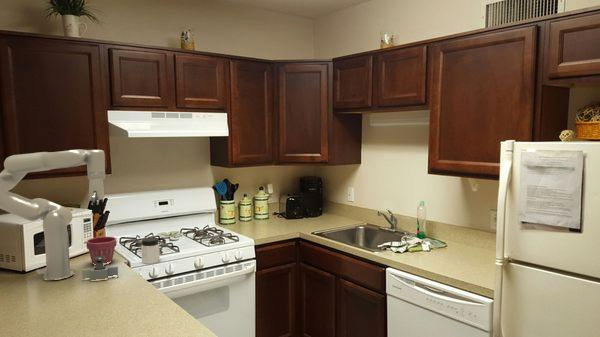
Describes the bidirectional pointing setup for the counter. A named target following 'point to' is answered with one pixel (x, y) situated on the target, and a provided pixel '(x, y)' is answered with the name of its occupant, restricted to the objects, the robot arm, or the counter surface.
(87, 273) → the hinge
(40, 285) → the counter surface
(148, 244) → the jar
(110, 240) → the plant pot
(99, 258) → the hinge pin
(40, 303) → the counter surface
